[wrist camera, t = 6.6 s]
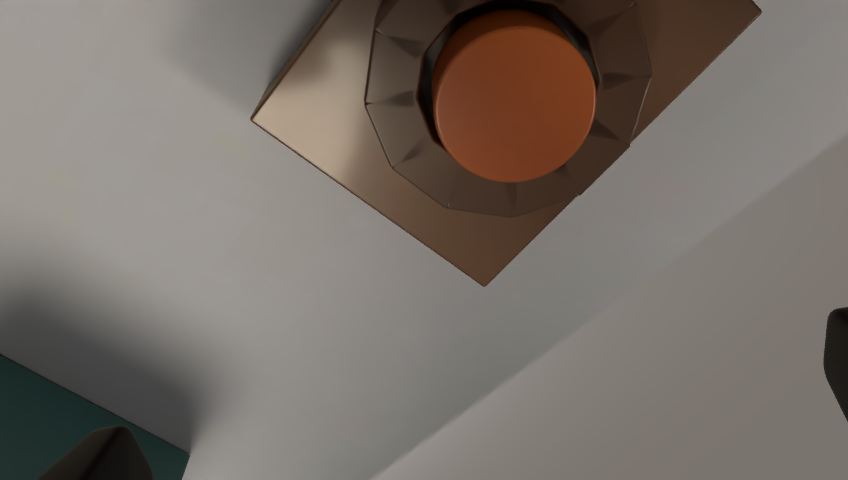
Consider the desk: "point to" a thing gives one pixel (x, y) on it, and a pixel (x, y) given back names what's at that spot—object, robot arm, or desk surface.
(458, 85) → the button
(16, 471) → the toaster
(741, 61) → the desk surface
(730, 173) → the desk surface
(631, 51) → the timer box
